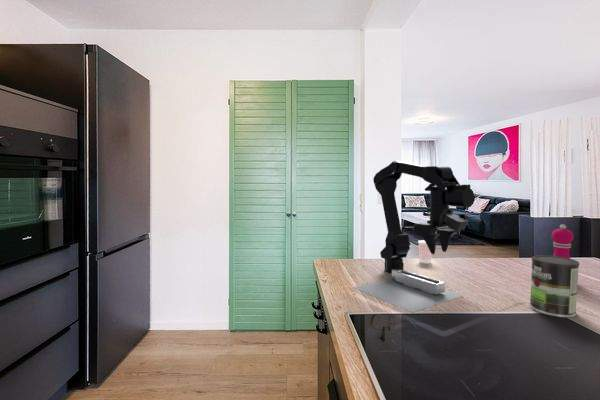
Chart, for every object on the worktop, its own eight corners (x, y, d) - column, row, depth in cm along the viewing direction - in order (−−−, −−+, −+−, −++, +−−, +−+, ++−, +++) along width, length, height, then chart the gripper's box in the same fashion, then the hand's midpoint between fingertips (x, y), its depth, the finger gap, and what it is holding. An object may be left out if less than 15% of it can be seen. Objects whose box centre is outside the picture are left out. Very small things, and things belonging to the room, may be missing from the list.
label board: (352, 290, 108) (352, 286, 108) (401, 278, 120) (401, 275, 120) (412, 315, 88) (412, 311, 88) (463, 298, 100) (463, 295, 100)
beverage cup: (432, 260, 146) (432, 229, 145) (433, 264, 140) (433, 231, 139) (417, 259, 148) (418, 228, 147) (417, 263, 142) (418, 230, 141)
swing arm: (389, 278, 115) (389, 269, 115) (397, 276, 117) (397, 267, 117) (436, 294, 99) (436, 283, 99) (444, 292, 101) (444, 281, 101)
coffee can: (550, 318, 86) (553, 264, 85) (520, 303, 96) (522, 255, 95) (587, 317, 86) (590, 263, 86) (554, 302, 97) (556, 254, 96)
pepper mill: (578, 284, 112) (581, 226, 111) (554, 283, 114) (556, 225, 112) (566, 278, 119) (568, 223, 118) (543, 277, 121) (545, 222, 119)
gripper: (443, 208, 96) (442, 261, 97) (480, 205, 105) (479, 253, 106) (412, 206, 105) (411, 254, 106) (448, 203, 115) (447, 247, 116)
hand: (438, 252), depth 108 cm, fingers open, 6 cm apart
